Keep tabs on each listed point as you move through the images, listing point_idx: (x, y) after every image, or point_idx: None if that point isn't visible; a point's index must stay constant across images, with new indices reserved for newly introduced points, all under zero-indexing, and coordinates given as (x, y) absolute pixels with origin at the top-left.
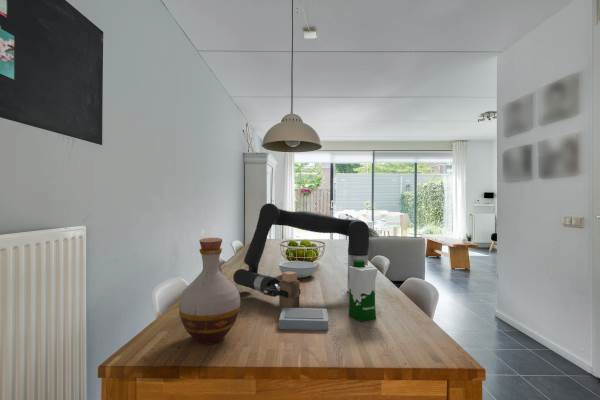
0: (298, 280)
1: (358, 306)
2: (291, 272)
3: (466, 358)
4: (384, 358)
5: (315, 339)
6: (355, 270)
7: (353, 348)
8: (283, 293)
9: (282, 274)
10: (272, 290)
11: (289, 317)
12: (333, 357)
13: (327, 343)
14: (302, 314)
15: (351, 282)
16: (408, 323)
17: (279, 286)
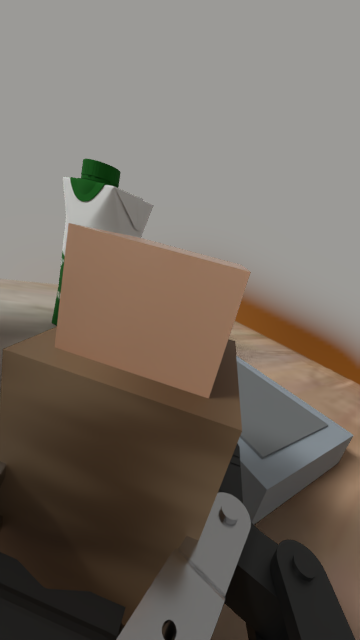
0: None
1: None
2: (147, 241)
3: None
4: (234, 327)
5: (274, 378)
6: (142, 204)
7: (243, 343)
8: (238, 455)
9: (239, 305)
10: (339, 612)
11: (307, 410)
12: (288, 357)
13: (265, 364)
14: (248, 388)
15: None
16: None
17: (208, 515)
